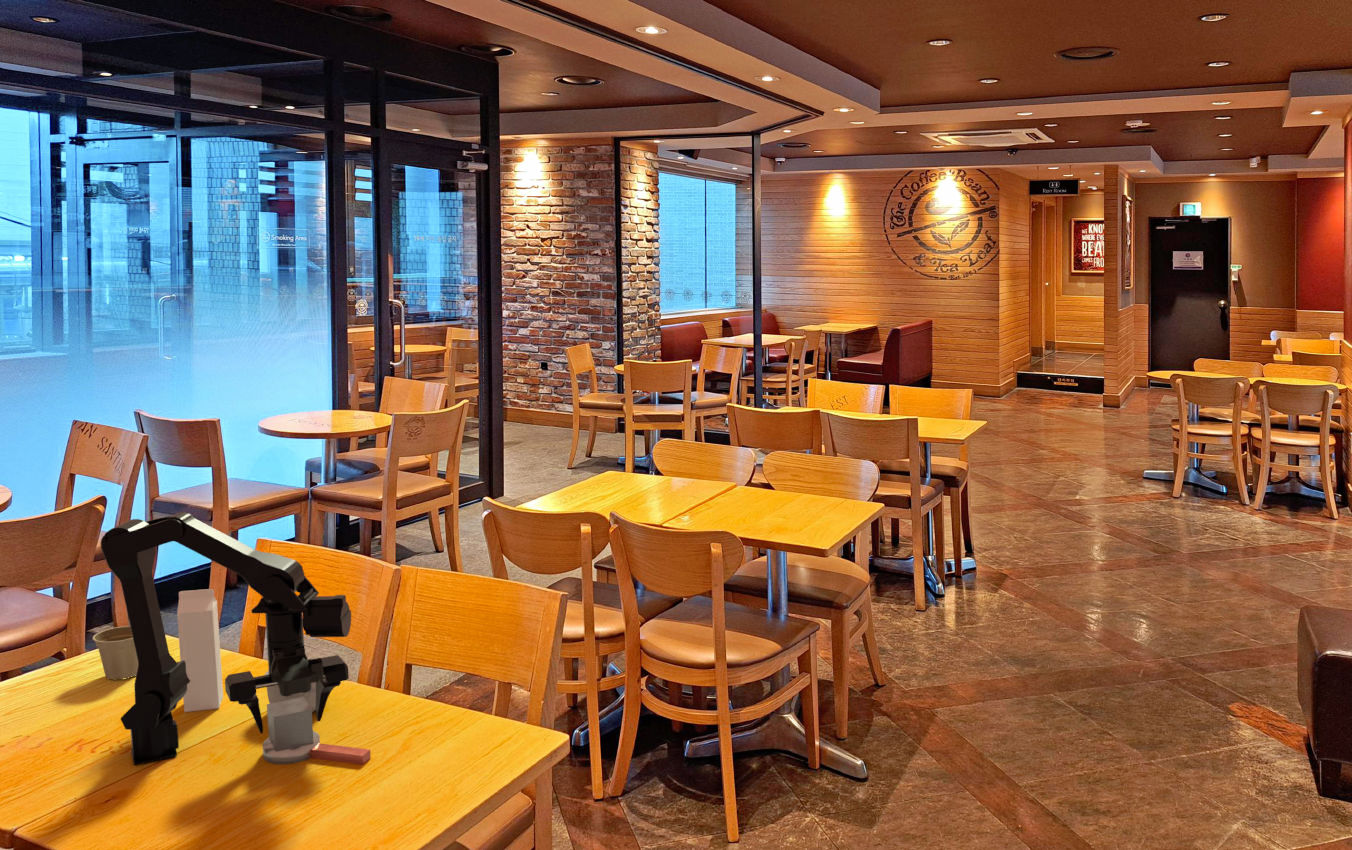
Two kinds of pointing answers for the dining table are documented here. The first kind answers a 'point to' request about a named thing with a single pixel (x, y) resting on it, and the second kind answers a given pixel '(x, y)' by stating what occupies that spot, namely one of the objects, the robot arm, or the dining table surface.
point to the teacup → (276, 697)
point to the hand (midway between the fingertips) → (290, 726)
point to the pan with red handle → (315, 753)
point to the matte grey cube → (290, 724)
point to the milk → (200, 649)
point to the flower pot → (117, 652)
